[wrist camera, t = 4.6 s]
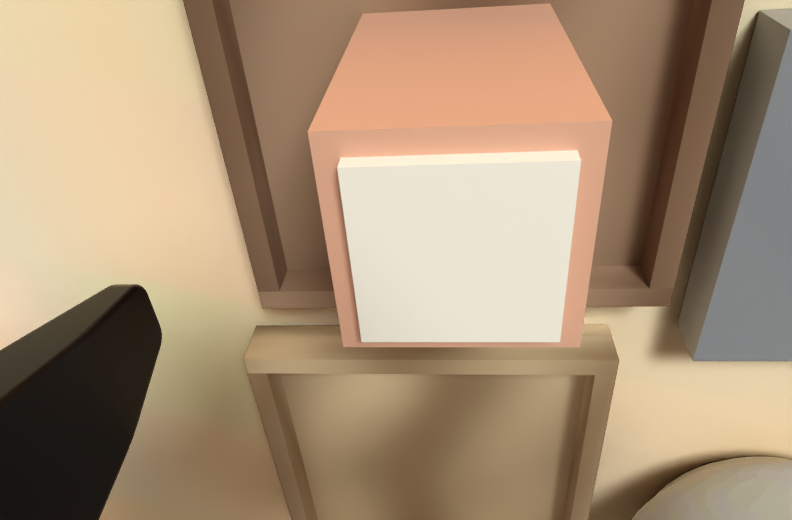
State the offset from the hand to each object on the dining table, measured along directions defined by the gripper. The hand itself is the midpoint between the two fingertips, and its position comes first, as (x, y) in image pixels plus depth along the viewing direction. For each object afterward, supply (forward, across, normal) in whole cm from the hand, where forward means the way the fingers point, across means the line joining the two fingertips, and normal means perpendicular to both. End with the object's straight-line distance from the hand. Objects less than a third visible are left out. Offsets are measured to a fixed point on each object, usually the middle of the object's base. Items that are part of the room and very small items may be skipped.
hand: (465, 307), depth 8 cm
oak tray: (+8, +1, +13) cm, 15 cm away
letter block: (+7, 0, 0) cm, 7 cm away
